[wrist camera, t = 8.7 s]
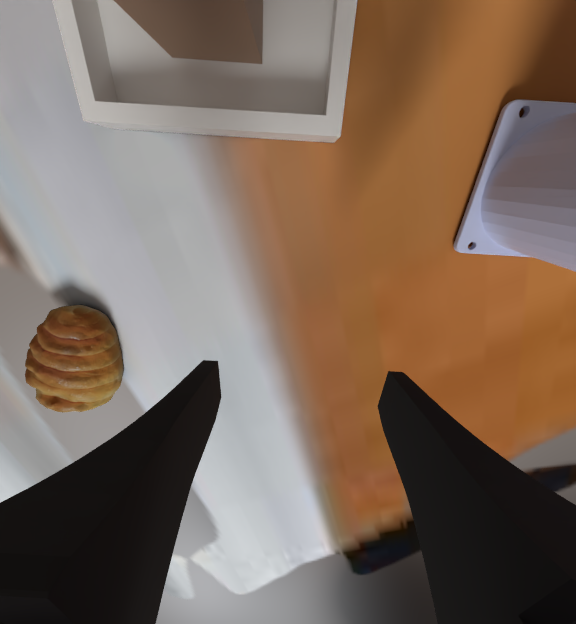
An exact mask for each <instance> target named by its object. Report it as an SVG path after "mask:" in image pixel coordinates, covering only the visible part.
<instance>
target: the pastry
mask: <svg viewBox="0 0 576 624" xmlns="http://www.w3.org/2000/svg"><path fill="white" fill-rule="evenodd" d="M29 346H30V349H29V350H28V352H27V359H26V363H25V366H26V367H27V369H26V373H25V377H26V382H27V383H28V384H29V385H30V386H32V387H34V388H36V399H37V400H38V401H39V402H40V404H42V405H44V406H45V407H46V408H49V409H52V410H55V411H58V412H70V411H80V412H82V411H86V410H90V409H93V408H96V407H98V406H101V405H103V404H105V403H107V402H108V401H109V400H111V398H112V397H113V395H114V393H115V392H116V390H117V389H118V388H119V387H120V384H121V381H122V376H123V371H124V368H123V359H122V353H121V349H120V345H119V340H118V336H117V333H116V330H115V328H114V327H113V326H112V324H111V323H110V321H109V319H108V317H107V316H106V315H105V314H103V313H102V312H100V311H99V310H95V309H92V308H89V307H87V306H83V305H73V306H64V307H60V308H57V309H53V310H51V311H50V312H49V314H48V316H47V318H46V320H45V321H44V322H43V323H42V324H40V325H39V326H38V327H37V334H36V335H35V336H34V338H33V339H32V341H31V343H30V344H29Z"/></svg>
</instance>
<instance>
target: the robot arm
mask: <svg viewBox="0 0 576 624" xmlns="http://www.w3.org/2000/svg"><path fill="white" fill-rule="evenodd" d="M521 108H523V109H524V114H523V116H522V117H521V118H520V117H519V111H520V110H521ZM471 242H473V245H472V246H471V247H470V248H468V245H469V244H470V243H471ZM454 249H455V250H456V251H457V252H460V253H473V254H489V255H506V256H522V257H534V258H537V259H540V260H543V261H546V262H549V263H552V264H555V265H558V266H561V267H564V268H567V269H570V270H573V271H576V103H568V102H552V101H536V100H519V99H518V100H514V101H511V102H509V103H507V104H506V105H505V106H504V107H503V109H502V111H501V113H500V116H499V118H498V121H497V124H496V127H495V130H494V132H493V135H492V138H491V141H490V144H489V147H488V149H487V152H486V155H485V158H484V161H483V163H482V166H481V169H480V172H479V175H478V178H477V180H476V183H475V186H474V189H473V192H472V194H471V197H470V200H469V203H468V206H467V209H466V211H465V214H464V217H463V220H462V223H461V225H460V228H459V231H458V234H457V237H456V240H455V242H454ZM220 400H221V389H220V378H219V368H218V361H206V360H203V361H202V362H201V363H200V364H199V365H198V366H197V367H196V368H195V369H194V370H193V371H192V372H191V373H190V374H189V375H188V376H186V377H185V378H184V379H183V380H182V381H181V382H180V383H179V384H178V385H177V386H176V387H175V388H174V389H173V390H172V391H170V392H169V393H168V394H167V395H166V396H165V397H164V398H163V399H161V400H160V401H159V402H158V403H157V404H156V405H154V406H153V407H152V408H151V409H150V410H148V411H147V412H146V413H145V414H144V415H142V416H141V417H140V418H138V419H137V420H136V421H135V422H133V423H132V424H131V425H129V426H128V427H127V428H125V429H124V430H123V431H121V432H120V433H118V434H117V435H115V436H114V437H113V438H111V439H110V440H108V441H107V442H105V443H103V444H102V445H100V446H99V447H97V448H96V449H94V450H93V451H92V452H90V453H88V454H87V455H85V456H83V457H82V458H80V459H79V460H77V461H75V462H74V463H72V464H70V465H69V466H67V467H65V468H63V469H62V470H60V471H58V472H57V473H55V474H53V475H51V476H50V477H48V478H46V479H44V480H42V481H41V482H39V483H37V484H35V485H33V486H32V487H30V488H28V489H26V490H24V491H22V492H20V493H18V494H16V495H14V496H12V497H11V498H9V499H7V500H5V501H3V502H1V503H0V624H155V623H156V618H157V615H158V611H159V606H160V602H161V598H162V594H163V589H164V585H165V581H166V577H167V573H168V569H169V565H170V561H171V557H172V553H173V549H174V546H175V542H176V538H177V534H178V531H179V527H180V523H181V520H182V516H183V512H184V509H185V505H186V501H187V498H188V494H189V491H190V488H191V484H192V482H193V479H194V476H195V473H196V470H197V468H198V465H199V462H200V460H201V457H202V454H203V452H204V449H205V446H206V444H207V441H208V439H209V436H210V433H211V431H212V428H213V425H214V422H215V420H216V416H217V412H218V408H219V404H220ZM378 409H379V414H380V419H381V423H382V427H383V431H384V433H385V436H386V439H387V442H388V445H389V447H390V450H391V453H392V456H393V458H394V461H395V464H396V466H397V469H398V472H399V475H400V477H401V480H402V483H403V485H404V488H405V491H406V494H407V497H408V501H409V504H410V508H411V512H412V515H413V519H414V523H415V527H416V530H417V534H418V538H419V542H420V546H421V550H422V554H423V558H424V562H425V567H426V571H427V575H428V580H429V585H430V589H431V594H432V598H433V602H434V607H435V612H436V617H437V622H438V624H576V505H574V504H573V503H571V502H569V501H568V500H566V499H565V498H563V497H561V496H560V495H558V494H557V493H555V492H553V491H552V490H550V489H549V488H547V487H546V486H544V485H543V484H541V483H540V482H538V481H537V480H535V479H534V478H532V477H531V476H529V475H527V474H526V473H524V472H523V471H521V470H520V469H519V468H517V467H516V466H514V465H513V464H511V463H510V462H509V461H507V460H506V459H504V458H503V457H502V456H500V455H499V454H498V453H496V452H495V451H494V450H492V449H491V448H490V447H488V446H487V445H486V444H484V443H483V442H482V441H480V440H479V439H478V438H477V437H475V436H474V435H473V434H472V433H470V432H469V431H468V430H467V429H466V428H464V427H463V426H462V425H461V424H460V423H458V422H457V421H456V420H455V419H454V418H453V417H451V416H450V415H449V414H448V413H447V412H446V411H445V410H443V409H442V408H441V407H440V406H439V405H438V404H437V403H436V402H435V401H434V400H433V399H431V398H430V397H429V396H428V395H427V394H426V393H425V392H424V391H423V390H422V389H421V388H420V387H419V386H418V385H416V384H415V383H414V382H413V381H412V380H411V379H410V378H409V377H408V376H407V375H406V374H404V373H403V372H392V371H388V374H387V377H386V381H385V384H384V387H383V391H382V394H381V397H380V400H379V404H378Z"/></svg>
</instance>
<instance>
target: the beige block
mask: <svg viewBox="0 0 576 624" xmlns="http://www.w3.org/2000/svg"><path fill="white" fill-rule="evenodd" d="M114 1H115V2H116V3H117V4H118V5H119V6H120V7H121V8H122V9H123V10H124V11H125V12H126V13H127V14H128V15H129V16H130V17H131V18H132V19H133V20H134V21H135V22H136V23H137V24H138V25H139V26H140V27H141V28H143V29H144V30H145V31H146V32H147V33H148V34H149V35H150V36H151V37H152V38H153V39H154V40H155V41H156V42H157V43H158V44H159V45H160V46H161V47H162V48H163V49H164V50H165V51H166V52H167V53H168V54H169V55H170V56H171V57H172V58H184V59H198V60H212V61H225V62H239V63H253V64H262V52H263V0H114Z"/></svg>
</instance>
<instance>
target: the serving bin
mask: <svg viewBox="0 0 576 624" xmlns="http://www.w3.org/2000/svg"><path fill="white" fill-rule="evenodd" d="M52 1H53V5H54V9H55V13H56V17H57V21H58V24H59V28H60V32H61V36H62V40H63V44H64V47H65V51H66V55H67V59H68V63H69V67H70V71H71V74H72V78H73V82H74V86H75V90H76V94H77V98H78V101H79V105H80V109H81V113H82V117H83V121H86V122H90V123H93V124H97V125H101V126H105V127H108V128H112V129H117V130H133V131H149V132H166V133H182V134H198V135H214V136H231V137H247V138H263V139H279V140H296V141H312V142H328V143H334V142H335V141H336V140H337V139H338V138H340V136H341V128H342V120H343V112H344V104H345V96H346V88H347V80H348V72H349V64H350V56H351V48H352V40H353V31H354V23H355V15H356V7H357V0H263V52H262V64H253V63H239V62H225V61H212V60H198V59H184V58H172V57H171V56H170V55H169V54H168V53H167V52H166V51H165V50H164V49H163V48H162V47H161V46H160V45H159V44H158V43H157V42H156V41H155V40H154V39H153V38H152V37H151V36H150V35H149V34H148V33H147V32H146V31H145V30H144V29H143V28H141V27H140V26H139V25H138V24H137V23H136V22H135V21H134V20H133V19H132V18H131V17H130V16H129V15H128V14H127V13H126V12H125V11H124V10H123V9H122V8H121V7H120V6H119V5H118V4H117V3H116V2H115V1H114V0H52Z"/></svg>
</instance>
